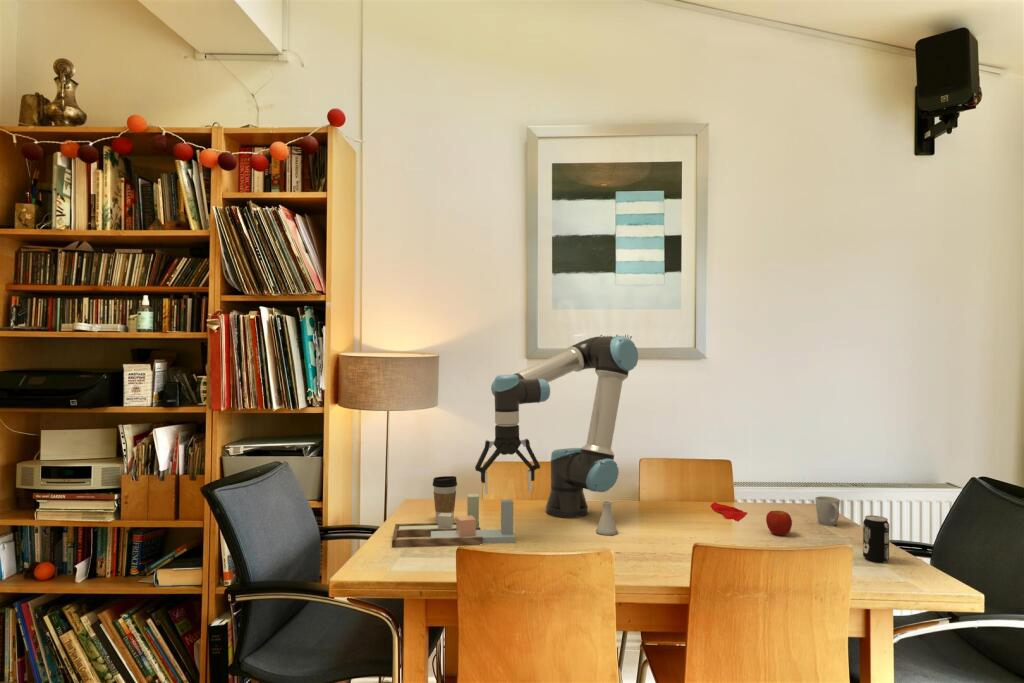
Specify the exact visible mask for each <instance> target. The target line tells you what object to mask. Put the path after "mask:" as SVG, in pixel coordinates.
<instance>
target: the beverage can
mask: <svg viewBox="0 0 1024 683" xmlns="http://www.w3.org/2000/svg"><path fill="white" fill-rule="evenodd" d="M862 523H863V524H862V526H863V528H862V530H863V533H862V557H864V559H865V560H866V561H869V562H871V563H876V564H877V563H879V564H883V563H887V562H888V561H889V560H890V523H889V521H888V518H887V517H884V516H881V515H880V516H879V515H874V514H873V515H872V514H871V515H869V514H867V515H865V516H864V520H863V522H862Z"/></svg>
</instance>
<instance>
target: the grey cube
mask: <svg viewBox="0 0 1024 683" xmlns="http://www.w3.org/2000/svg"><path fill="white" fill-rule="evenodd" d="M453 522H454V518H453V513H440V514H439V515H438V522H437V523H438V528H452V526H453Z"/></svg>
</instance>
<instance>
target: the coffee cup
mask: <svg viewBox="0 0 1024 683" xmlns="http://www.w3.org/2000/svg"><path fill="white" fill-rule="evenodd" d="M457 486H458V482H457V476H455V475H449V476H447V475H445V476H436V477H433V479H432V487H433V498H434V499H433V500H434V511H435V522H436V523H438V515H439V514H440V513H453V519H454V516H455V515H454V514H455V508H456V507H455V506H456V495H457Z"/></svg>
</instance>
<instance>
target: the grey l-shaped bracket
mask: <svg viewBox="0 0 1024 683" xmlns="http://www.w3.org/2000/svg"><path fill="white" fill-rule="evenodd" d="M466 496H467V497H466V498H467V500H466V501H467V502H466V503H467V505H466V506H467V507H466V509H467V510H466V514H467V515H466V516H470V515H472V516H473V517H474V518H475V519H476V527H480V522H479V521H480V515H479V514H480V509H479V508H480V496H479V494H478V493H470V494H469V493H467V495H466ZM452 528H456V525H453V526H452ZM400 529H438V525H426V526H399V530H400Z"/></svg>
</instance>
